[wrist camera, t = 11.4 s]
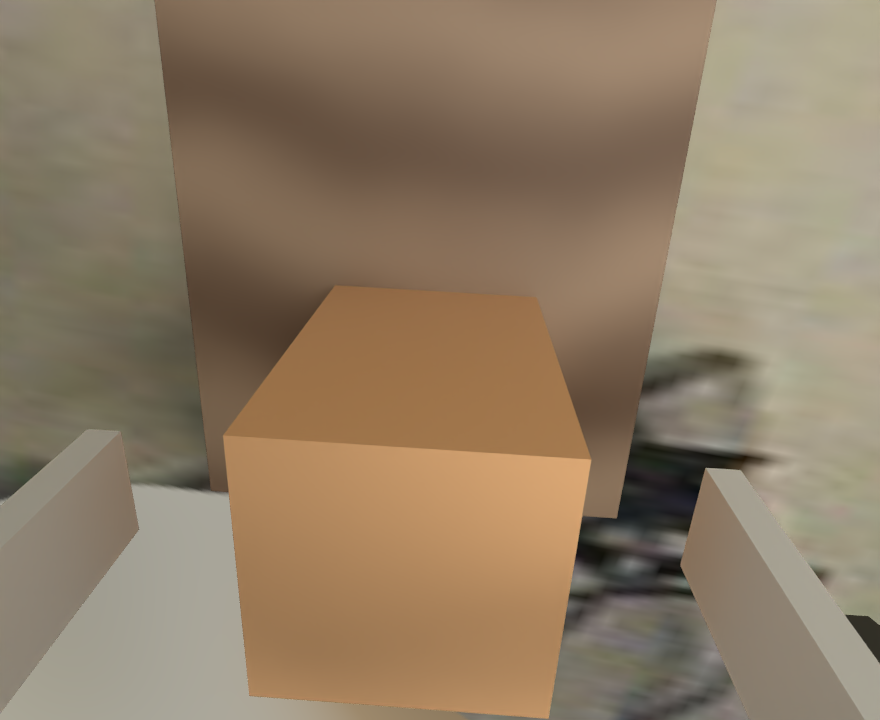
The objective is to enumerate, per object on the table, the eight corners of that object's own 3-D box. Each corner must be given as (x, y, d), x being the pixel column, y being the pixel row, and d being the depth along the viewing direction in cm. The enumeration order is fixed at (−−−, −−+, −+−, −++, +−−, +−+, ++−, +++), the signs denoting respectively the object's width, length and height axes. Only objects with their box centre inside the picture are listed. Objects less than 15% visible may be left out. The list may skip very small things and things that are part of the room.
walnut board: (127, -494, 14) (90, -557, 13) (785, -475, 14) (820, -540, 12) (225, 468, 24) (211, 490, 23) (608, 494, 24) (616, 518, 22)
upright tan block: (334, 285, 20) (223, 435, 11) (536, 296, 19) (591, 460, 11) (338, 457, 22) (249, 696, 13) (516, 469, 22) (548, 718, 13)
